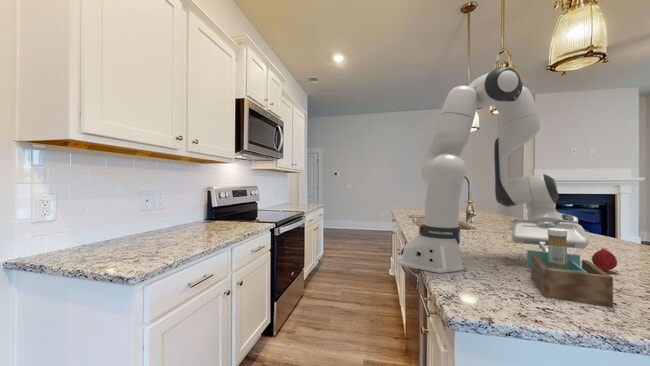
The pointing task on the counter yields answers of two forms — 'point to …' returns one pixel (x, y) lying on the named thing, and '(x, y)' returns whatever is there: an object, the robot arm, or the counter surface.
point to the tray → (572, 265)
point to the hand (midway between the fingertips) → (551, 255)
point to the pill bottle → (557, 248)
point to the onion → (604, 260)
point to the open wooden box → (574, 283)
